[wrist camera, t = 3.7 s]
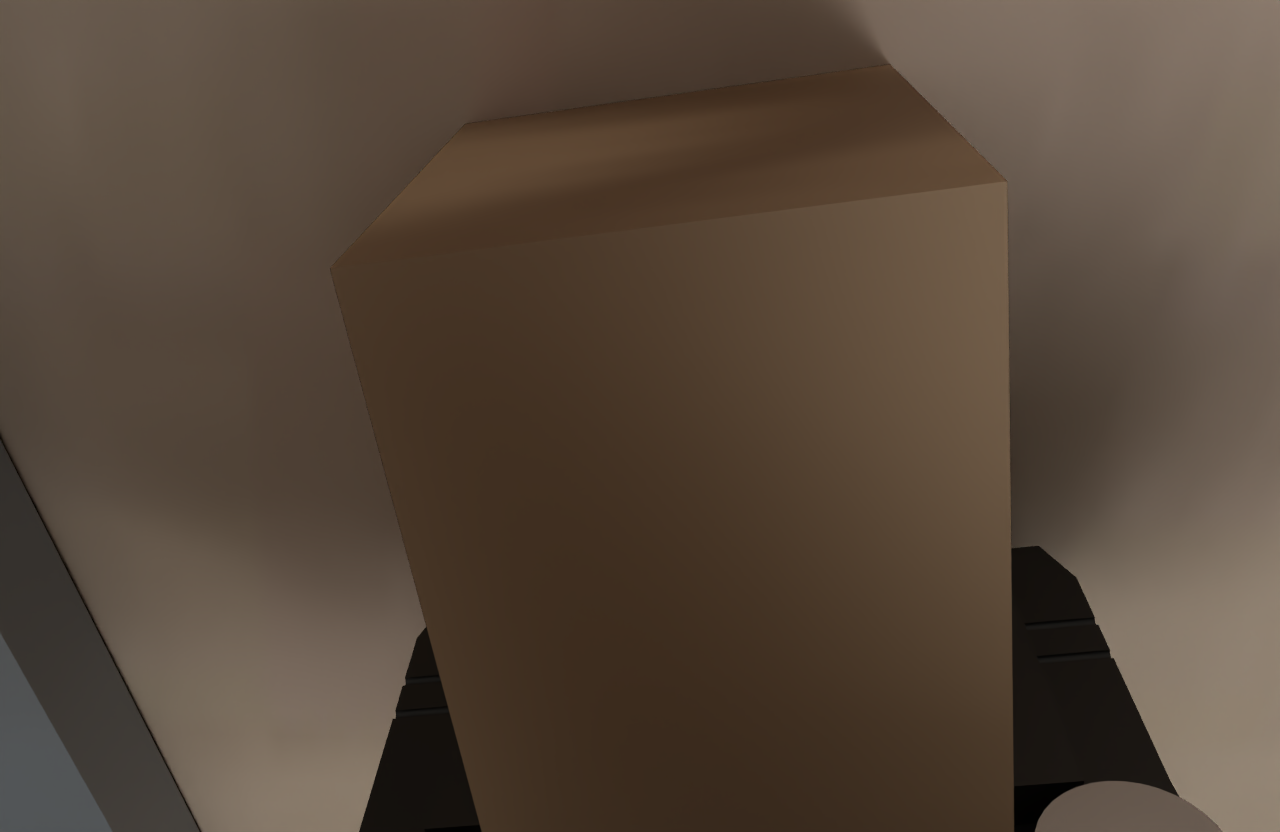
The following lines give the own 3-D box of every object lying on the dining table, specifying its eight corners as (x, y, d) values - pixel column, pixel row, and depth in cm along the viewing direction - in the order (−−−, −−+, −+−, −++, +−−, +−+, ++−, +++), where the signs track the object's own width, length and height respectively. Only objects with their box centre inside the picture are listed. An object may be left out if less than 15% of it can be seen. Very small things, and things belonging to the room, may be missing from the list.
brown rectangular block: (886, 60, 9) (1006, 180, 6) (936, 994, 14) (1020, 1388, 10) (466, 121, 10) (329, 268, 6) (650, 1011, 14) (634, 1396, 11)
